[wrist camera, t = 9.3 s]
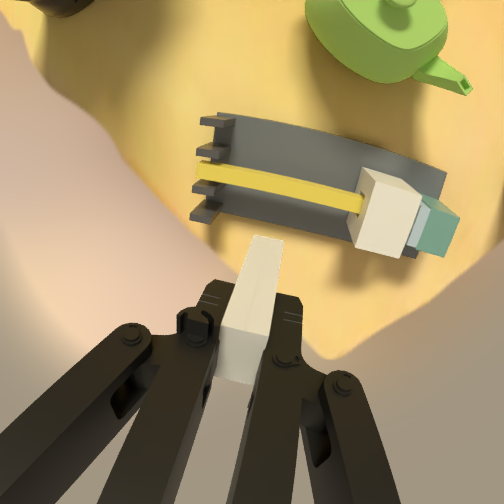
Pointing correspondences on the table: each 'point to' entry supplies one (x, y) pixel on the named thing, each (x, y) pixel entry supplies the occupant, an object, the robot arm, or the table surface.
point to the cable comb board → (309, 180)
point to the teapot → (387, 39)
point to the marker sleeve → (383, 213)
